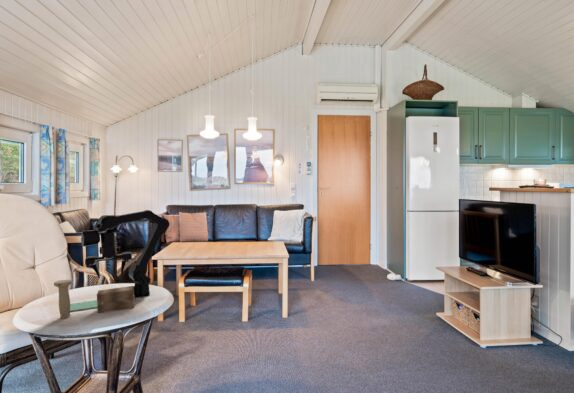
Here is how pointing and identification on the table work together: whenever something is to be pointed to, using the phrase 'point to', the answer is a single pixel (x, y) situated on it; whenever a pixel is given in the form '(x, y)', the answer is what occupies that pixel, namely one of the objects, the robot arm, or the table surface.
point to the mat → (83, 306)
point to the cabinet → (115, 299)
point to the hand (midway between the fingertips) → (110, 276)
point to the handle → (64, 297)
